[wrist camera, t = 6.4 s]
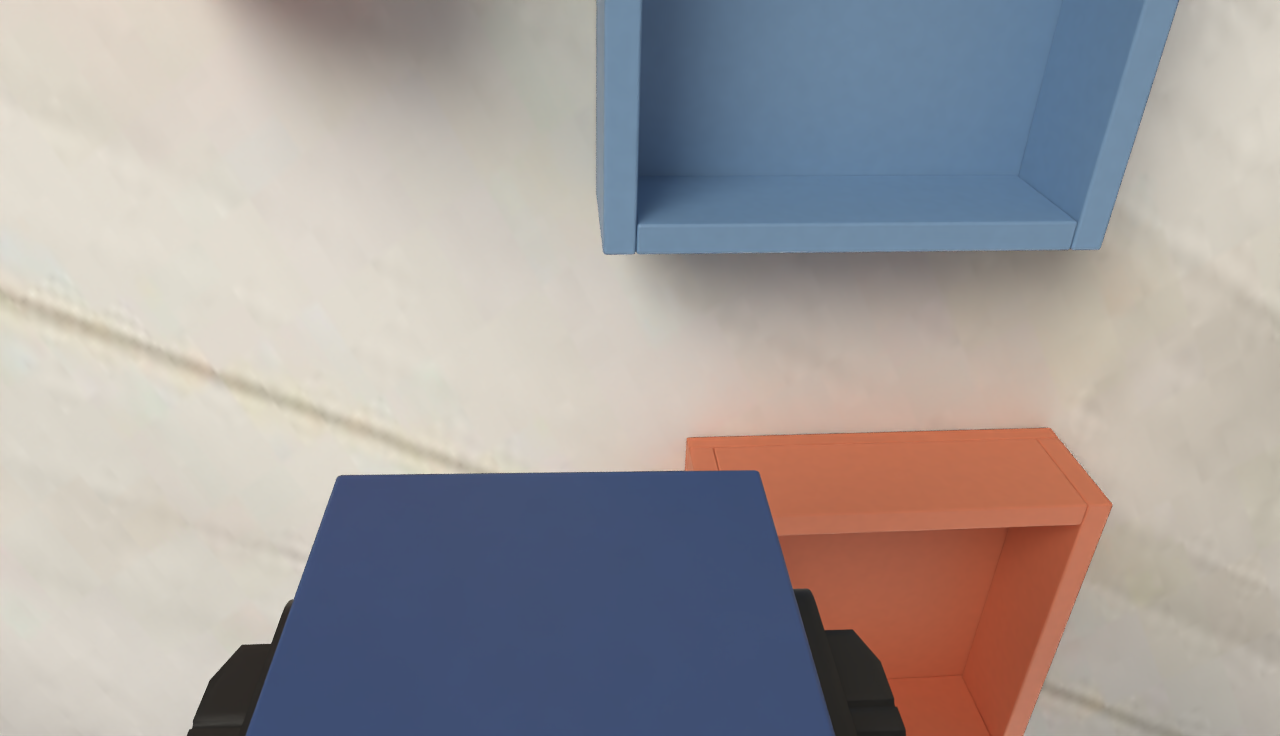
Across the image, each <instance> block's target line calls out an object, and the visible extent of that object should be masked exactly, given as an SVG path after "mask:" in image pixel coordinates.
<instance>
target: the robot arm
mask: <svg viewBox="0 0 1280 736" xmlns="http://www.w3.org/2000/svg"><path fill="white" fill-rule="evenodd" d="M793 591H794V594H795V598H796V601H797V604H798V608H799V611H800V615H801V618H802V622H803V625H804V629H805V632H806V636H807V639H808V643H809V646H810V650H811V653H812V657H813V660H814V664H815V667H816V670H817V674H818V677H819V681H820V684H821V688H822V691H823V695H824V698H825V702H826V705H827V709H828V712H829V716H830V719H831V723H832V726H833V730H834V733H835V736H906V729H905V726H904V723H903V721H902V718H901V715H900V713H899V710H898V707H895V703H894V696H893V694H892V691H891V688H890V685H889V683H888V680H887V677H886V675H885V672H884V669H883V666H882V664H881V661H880V660H879V659H878V658H877V657H876V656H875V654H874V653H873V652H872V651H871V650H870V649H869V647H868V646H867V645H866V644H865V643H864V642H863V641H862V639H861V638H860V637H859V636H858V635H857V634H856V633H855V631H854V630H853V629H846V630H824V627H823V624H822V621H821V617H820V614H819V611H818V608H817V605H816V601H815V599H814V596H813V594H812V592H811V591H810V590H809V589H808V588H804V589H793ZM293 600H294V599H293ZM293 600H290V601H289V602H288V603H287V604H286V606H285V608H284V610H283V613H282V615H281V618H280V621H279V624H278V627H277V629H276V632H275V635H274V638H273V640H272V643H271V644H253V645H241V646H240V648H239V649H238V650H237V651H236V652H235V653H234V654H233V655H232V656H231V657H230V659H229V660H228V661H227V662H226V663H225V664H224V665H223V666H222V667H221V669H220V670H219V671H218V672H217V673H216V674H215V675H214V676H213V677H212V678H211V680H210V681H209V683H208V686H207V688H206V691H205V693H204V695H203V698H202V700H201V703H200V705H199V707H198V710H197V712H196V715H195V717H194V719H193V727H192V729H189V732H188V734H187V736H246V733H247V730H248V727H249V725H250V722H251V719H252V716H253V713H254V710H255V708H256V705H257V702H258V699H259V696H260V693H261V691H262V688H263V685H264V682H265V679H266V676H267V674H268V671H269V668H270V665H271V662H272V660H273V657H274V654H275V651H276V648H277V645H278V643H279V640H280V637H281V634H282V631H283V628H284V626H285V623H286V620H287V617H288V614H289V612H290V609H291V606H292V603H293Z"/></svg>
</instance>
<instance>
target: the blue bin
mask: <svg viewBox="0 0 1280 736" xmlns="http://www.w3.org/2000/svg"><path fill="white" fill-rule="evenodd" d="M1178 2H1179V0H597V19H596V195H597V203H598V212H599V221H600V230H601V238H602V247H603V252H604V254H607V255H617V254H635V252H637V253H638V254H715V253H817V252H918V251H1020V250H1069V249H1071V250H1099V249H1100V248H1101V245H1102V242H1103V239H1104V235H1105V232H1106V229H1107V226H1108V223H1109V220H1110V217H1111V213H1112V210H1113V207H1114V204H1115V201H1116V198H1117V194H1118V191H1119V188H1120V185H1121V182H1122V179H1123V176H1124V172H1125V169H1126V166H1127V163H1128V160H1129V157H1130V153H1131V150H1132V147H1133V144H1134V141H1135V138H1136V135H1137V131H1138V128H1139V125H1140V122H1141V119H1142V116H1143V113H1144V109H1145V106H1146V103H1147V100H1148V97H1149V94H1150V90H1151V87H1152V84H1153V81H1154V78H1155V75H1156V72H1157V68H1158V65H1159V62H1160V59H1161V56H1162V53H1163V50H1164V46H1165V43H1166V40H1167V37H1168V34H1169V31H1170V27H1171V24H1172V21H1173V18H1174V15H1175V12H1176V9H1177V5H1178Z"/></svg>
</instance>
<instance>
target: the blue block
mask: <svg viewBox="0 0 1280 736" xmlns="http://www.w3.org/2000/svg"><path fill="white" fill-rule="evenodd" d="M246 736H835V733H834V730H833V726H832V723H831V719H830V716H829V712H828V709H827V705H826V702H825V698H824V695H823V691H822V688H821V684H820V681H819V677H818V674H817V670H816V667H815V664H814V660H813V657H812V653H811V650H810V646H809V643H808V639H807V636H806V632H805V629H804V625H803V622H802V618H801V615H800V611H799V608H798V604H797V601H796V598H795V594H794V591H793V587H792V584H791V580H790V577H789V573H788V570H787V566H786V563H785V559H784V556H783V552H782V549H781V545H780V542H779V538H778V535H777V532H776V528H775V525H774V521H773V518H772V514H771V511H770V507H769V504H768V500H767V497H766V493H765V490H764V486H763V483H762V479H761V476H760V473H759V472H758V471H756V470H722V471H642V472H561V473H481V474H400V475H341V476H338V477H337V479H336V482H335V484H334V487H333V490H332V493H331V496H330V499H329V501H328V504H327V507H326V510H325V513H324V516H323V518H322V521H321V524H320V527H319V530H318V532H317V535H316V538H315V541H314V544H313V547H312V549H311V552H310V555H309V558H308V561H307V564H306V566H305V569H304V572H303V575H302V578H301V580H300V583H299V586H298V589H297V592H296V595H295V597H294V600H293V603H292V606H291V609H290V612H289V614H288V617H287V620H286V623H285V626H284V628H283V631H282V634H281V637H280V640H279V643H278V645H277V648H276V651H275V654H274V657H273V660H272V662H271V665H270V668H269V671H268V674H267V676H266V679H265V682H264V685H263V688H262V691H261V693H260V696H259V699H258V702H257V705H256V708H255V710H254V713H253V716H252V719H251V722H250V725H249V727H248V730H247V733H246Z"/></svg>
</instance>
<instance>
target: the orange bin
mask: <svg viewBox="0 0 1280 736" xmlns="http://www.w3.org/2000/svg"><path fill="white" fill-rule="evenodd" d="M722 470H756V471H758V472H759V473H760V476H761V479H762V483H763V486H764V490H765V493H766V497H767V500H768V504H769V507H770V511H771V514H772V518H773V521H774V525H775V528H776V532H777V535H778V538H779V542H780V545H781V549H782V552H783V556H784V559H785V563H786V566H787V570H788V573H789V577H790V580H791V584H792V587H793V589H804V588H808V589H809V590H810V591H811V592H812V594H813V596H814V599H815V601H816V605H817V608H818V611H819V614H820V617H821V621H822V624H823V627H824V630H846V629H853V630H854V631H855V633H856V634H857V635H858V636H859V637H860V638H861V639H862V641H863V642H864V643H865V644H866V645H867V646H868V647H869V649H870V650H871V651H872V652H873V653H874V654H875V656H876V657H877V658H878V659H879V660H880V661H881V664H882V666H883V669H884V672H885V675H886V677H887V680H888V683H889V685H890V688H891V691H892V694H893V696H894V703H895V707H898V710H899V713H900V715H901V718H902V721H903V723H904V726H905V729H906V736H1023V735H1024V732H1025V730H1026V727H1027V725H1028V722H1029V719H1030V717H1031V714H1032V712H1033V709H1034V707H1035V704H1036V701H1037V699H1038V696H1039V694H1040V691H1041V689H1042V686H1043V683H1044V681H1045V678H1046V676H1047V673H1048V670H1049V668H1050V665H1051V663H1052V660H1053V658H1054V655H1055V652H1056V650H1057V647H1058V645H1059V642H1060V639H1061V637H1062V634H1063V632H1064V629H1065V627H1066V624H1067V621H1068V619H1069V616H1070V614H1071V611H1072V609H1073V606H1074V603H1075V601H1076V598H1077V596H1078V593H1079V590H1080V588H1081V585H1082V583H1083V580H1084V578H1085V575H1086V572H1087V570H1088V567H1089V565H1090V562H1091V559H1092V557H1093V554H1094V552H1095V549H1096V547H1097V544H1098V541H1099V539H1100V536H1101V534H1102V531H1103V529H1104V526H1105V523H1106V521H1107V518H1108V516H1109V513H1110V510H1111V508H1112V503H1111V502H1110V501H1109V500H1108V498H1107V497H1106V496H1105V495H1104V493H1103V492H1102V491H1101V490H1100V488H1099V487H1098V486H1097V485H1096V484H1095V482H1094V481H1093V480H1092V479H1091V477H1090V476H1089V475H1088V474H1087V473H1086V471H1085V470H1084V469H1083V468H1082V466H1081V465H1080V464H1079V463H1078V462H1077V460H1076V459H1075V458H1074V457H1073V455H1072V454H1071V453H1070V452H1069V451H1068V449H1067V448H1066V447H1065V446H1064V444H1063V443H1062V442H1061V441H1060V440H1059V439H1058V437H1057V436H1056V434H1055V433H1054V432H1053V431H1052V429H1051V428H1026V429H989V430H952V431H915V432H878V433H841V434H804V435H767V436H730V437H693V438H687V444H686V459H685V471H722Z"/></svg>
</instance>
